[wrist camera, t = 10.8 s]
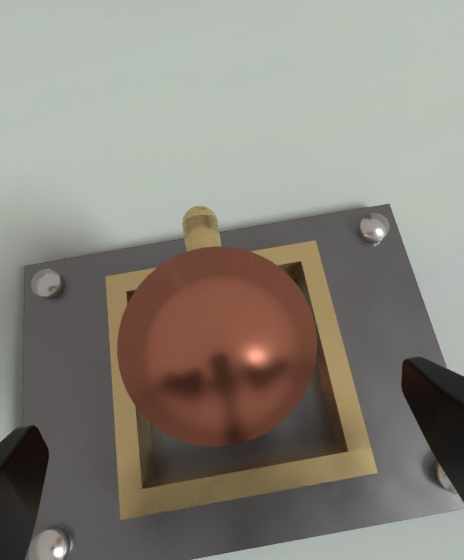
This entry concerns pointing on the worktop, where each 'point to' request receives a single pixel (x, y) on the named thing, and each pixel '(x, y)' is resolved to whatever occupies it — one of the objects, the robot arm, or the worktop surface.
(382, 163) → the worktop surface
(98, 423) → the gray mounting plate
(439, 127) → the worktop surface
